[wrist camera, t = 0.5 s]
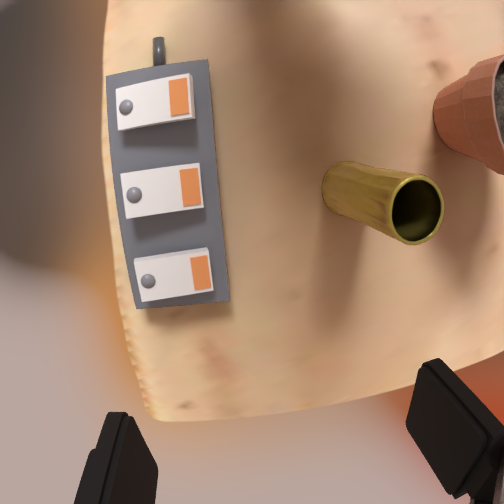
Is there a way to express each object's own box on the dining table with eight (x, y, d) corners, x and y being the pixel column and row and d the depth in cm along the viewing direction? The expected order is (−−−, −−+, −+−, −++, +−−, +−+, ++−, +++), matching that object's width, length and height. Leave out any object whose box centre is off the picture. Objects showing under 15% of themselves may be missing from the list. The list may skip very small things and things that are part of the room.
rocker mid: (121, 173, 27) (120, 174, 26) (197, 162, 29) (199, 162, 27) (127, 216, 28) (126, 219, 27) (202, 205, 30) (203, 207, 29)
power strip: (115, 50, 28) (104, 39, 24) (206, 35, 28) (205, 22, 25) (142, 295, 36) (135, 311, 32) (228, 287, 37) (230, 302, 33)
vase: (380, 195, 35) (458, 221, 22) (339, 226, 36) (404, 267, 22) (353, 151, 34) (428, 153, 20) (310, 181, 34) (368, 200, 21)
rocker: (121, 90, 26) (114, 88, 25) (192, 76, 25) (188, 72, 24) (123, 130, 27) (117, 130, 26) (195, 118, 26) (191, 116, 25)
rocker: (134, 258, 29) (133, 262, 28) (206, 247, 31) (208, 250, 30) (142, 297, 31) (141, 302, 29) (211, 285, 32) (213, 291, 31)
